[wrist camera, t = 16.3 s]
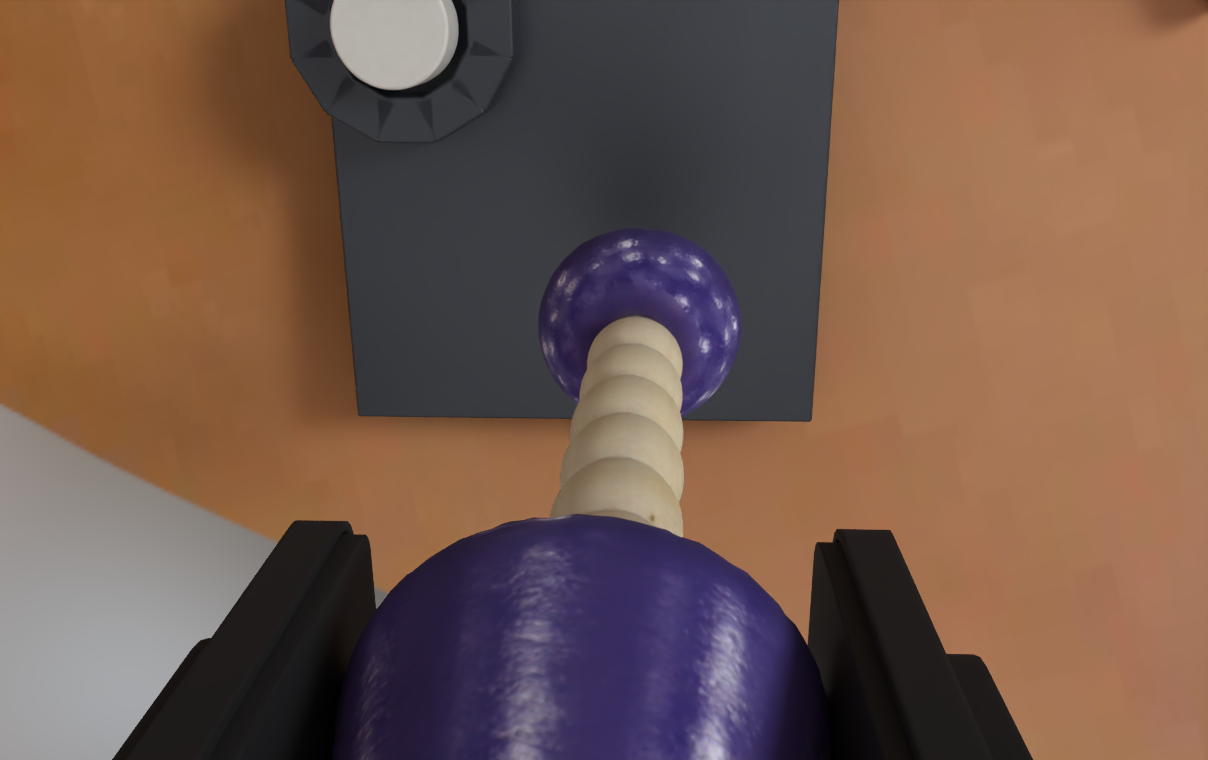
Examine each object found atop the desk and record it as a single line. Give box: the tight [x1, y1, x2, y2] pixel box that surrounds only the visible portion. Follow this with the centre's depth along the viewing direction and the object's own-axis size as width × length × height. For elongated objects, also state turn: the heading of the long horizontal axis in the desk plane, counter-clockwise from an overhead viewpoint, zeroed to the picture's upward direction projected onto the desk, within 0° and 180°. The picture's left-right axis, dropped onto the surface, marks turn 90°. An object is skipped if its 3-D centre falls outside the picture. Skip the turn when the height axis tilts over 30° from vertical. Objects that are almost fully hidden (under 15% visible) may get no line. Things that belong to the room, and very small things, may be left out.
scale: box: [285, 0, 839, 422], centre depth 30 cm, size 14×14×4 cm
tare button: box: [330, 0, 459, 90], centre depth 27 cm, size 3×3×2 cm
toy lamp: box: [332, 228, 832, 760], centre depth 14 cm, size 5×5×17 cm
